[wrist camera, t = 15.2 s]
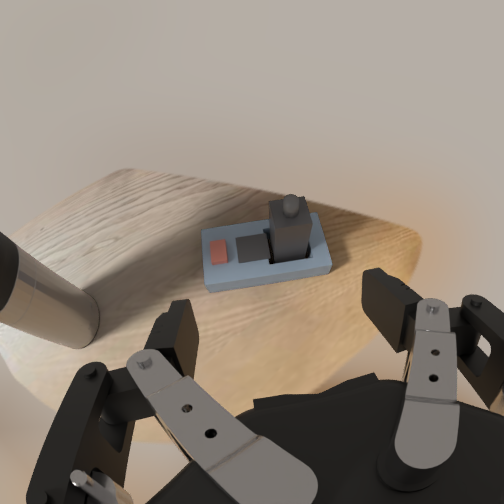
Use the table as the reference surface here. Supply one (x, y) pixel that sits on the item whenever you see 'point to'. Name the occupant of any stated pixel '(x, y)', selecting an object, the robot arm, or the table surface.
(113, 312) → the table surface
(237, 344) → the table surface
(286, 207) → the black plug
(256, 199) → the table surface
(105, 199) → the table surface
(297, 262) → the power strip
